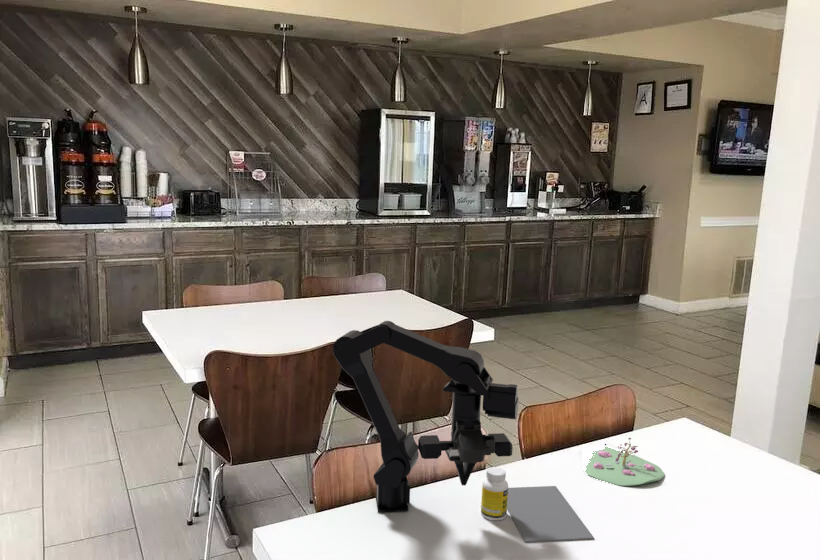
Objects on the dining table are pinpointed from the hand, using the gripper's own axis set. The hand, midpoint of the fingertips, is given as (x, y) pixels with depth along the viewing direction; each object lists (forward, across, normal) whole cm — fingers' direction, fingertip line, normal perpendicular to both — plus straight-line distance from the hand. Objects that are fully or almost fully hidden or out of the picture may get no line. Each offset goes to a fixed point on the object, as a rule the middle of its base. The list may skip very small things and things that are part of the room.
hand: (463, 484), depth 137 cm
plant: (+8, +44, +22) cm, 50 cm away
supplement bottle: (+7, +7, 0) cm, 10 cm away
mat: (+7, +17, 0) cm, 19 cm away
